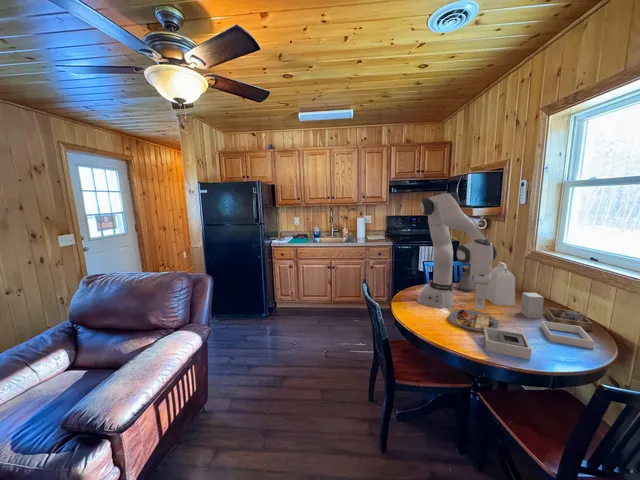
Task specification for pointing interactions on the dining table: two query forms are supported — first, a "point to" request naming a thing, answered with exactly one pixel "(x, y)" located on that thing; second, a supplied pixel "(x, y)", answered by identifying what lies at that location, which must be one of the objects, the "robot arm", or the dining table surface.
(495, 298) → the milk
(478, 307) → the connector
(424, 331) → the dining table surface
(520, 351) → the walled box
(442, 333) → the dining table surface
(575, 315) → the mineral specimen
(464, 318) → the food plate
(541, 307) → the supplement box
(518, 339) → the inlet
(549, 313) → the stand rim
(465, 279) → the coffee pot
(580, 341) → the open square frame
